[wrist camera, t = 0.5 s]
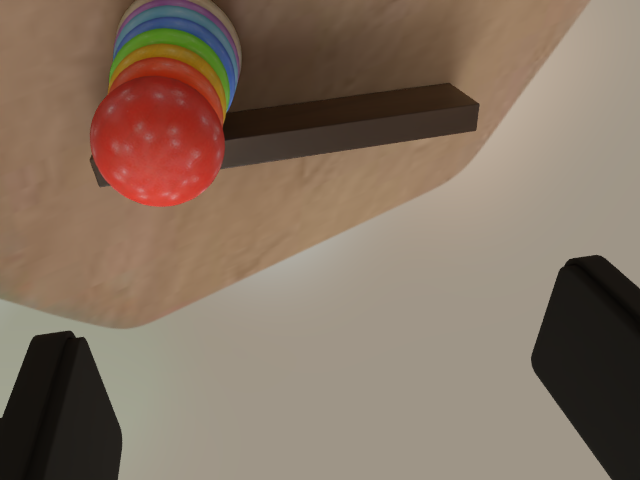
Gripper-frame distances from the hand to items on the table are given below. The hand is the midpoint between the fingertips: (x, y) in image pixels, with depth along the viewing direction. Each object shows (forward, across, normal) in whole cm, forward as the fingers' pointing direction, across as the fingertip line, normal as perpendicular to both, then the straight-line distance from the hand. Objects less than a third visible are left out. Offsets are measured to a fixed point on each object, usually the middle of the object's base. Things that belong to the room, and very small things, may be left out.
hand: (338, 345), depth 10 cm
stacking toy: (+29, +4, +1) cm, 29 cm away
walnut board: (+29, -3, +6) cm, 30 cm away
